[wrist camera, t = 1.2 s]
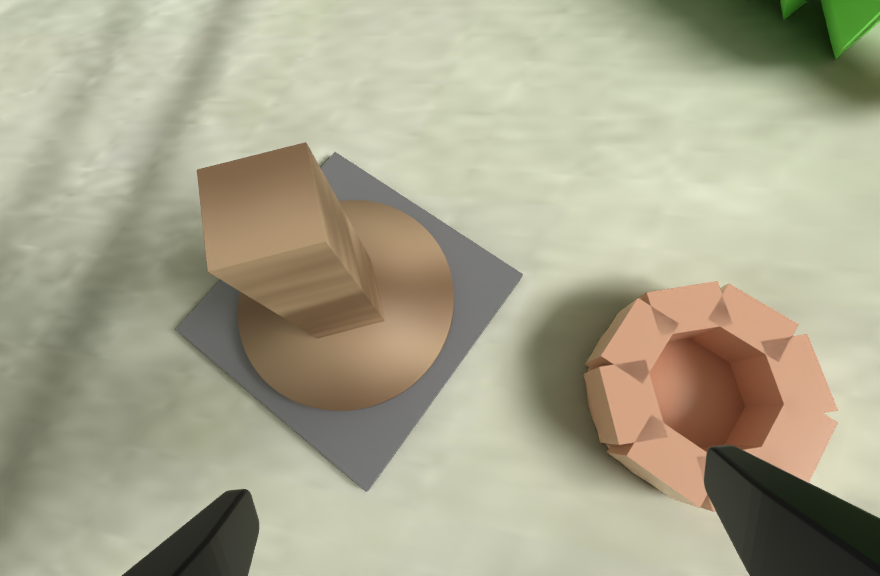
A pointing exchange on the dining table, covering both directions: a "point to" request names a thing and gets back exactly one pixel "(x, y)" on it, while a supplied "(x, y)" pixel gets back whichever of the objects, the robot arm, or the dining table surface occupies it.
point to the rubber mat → (388, 424)
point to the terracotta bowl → (706, 387)
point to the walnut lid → (324, 281)
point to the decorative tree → (842, 19)
